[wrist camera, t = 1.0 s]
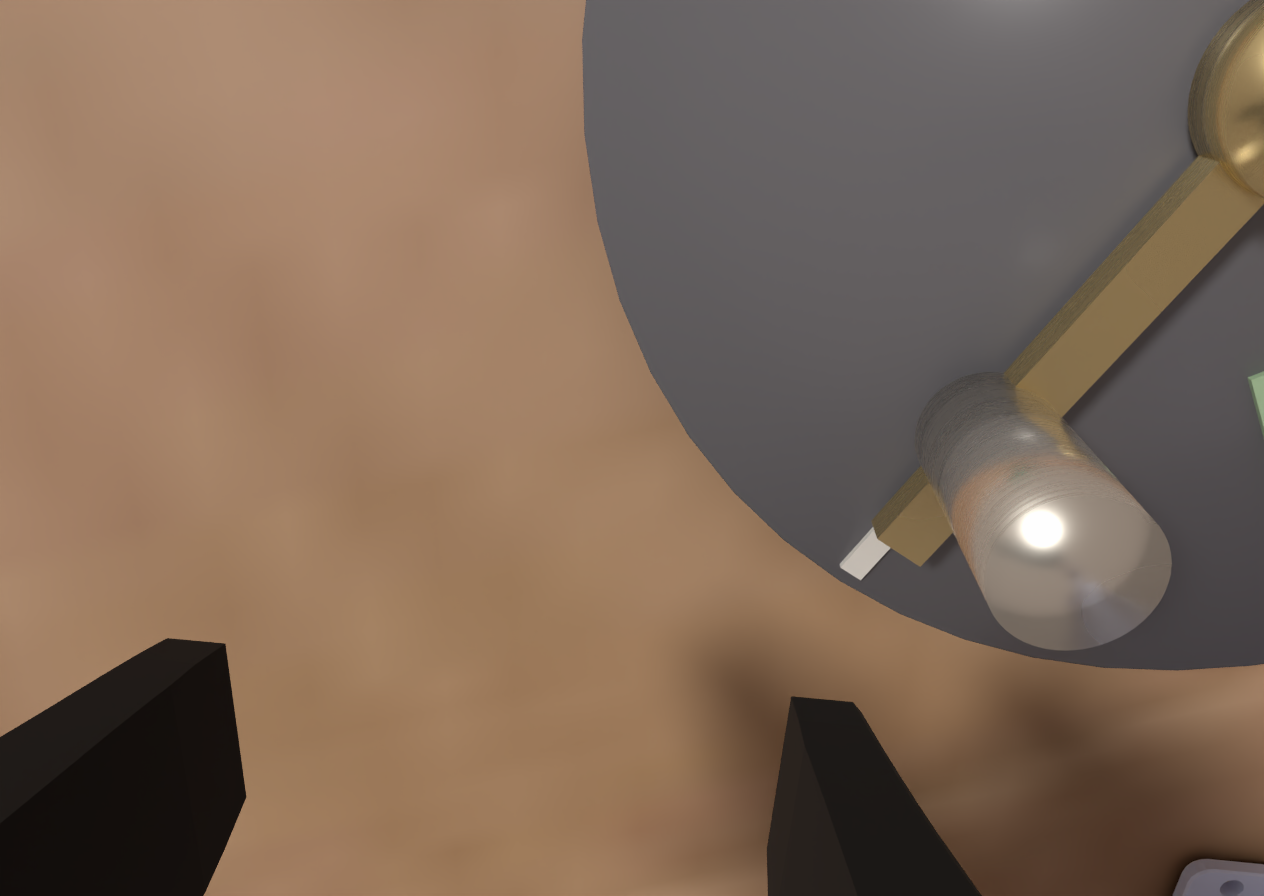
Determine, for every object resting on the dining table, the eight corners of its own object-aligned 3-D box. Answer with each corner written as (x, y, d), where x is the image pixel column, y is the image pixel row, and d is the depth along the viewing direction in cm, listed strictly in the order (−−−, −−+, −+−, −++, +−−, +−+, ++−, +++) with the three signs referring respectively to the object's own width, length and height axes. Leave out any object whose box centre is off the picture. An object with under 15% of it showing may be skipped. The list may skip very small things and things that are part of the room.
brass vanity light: (1310, -77, 14) (1590, -121, 9) (1463, 57, 14) (1796, 74, 10) (824, 490, 18) (862, 642, 14) (957, 576, 18) (1035, 750, 14)
